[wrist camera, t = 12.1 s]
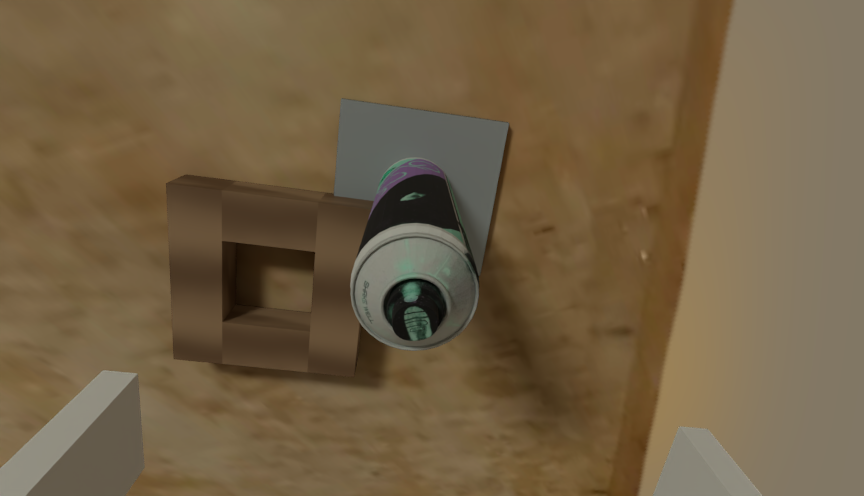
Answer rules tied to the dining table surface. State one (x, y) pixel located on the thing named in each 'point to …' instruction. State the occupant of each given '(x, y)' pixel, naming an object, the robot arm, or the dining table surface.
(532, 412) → the dining table surface
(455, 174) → the slate tile
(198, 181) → the eye block
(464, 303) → the spray can
